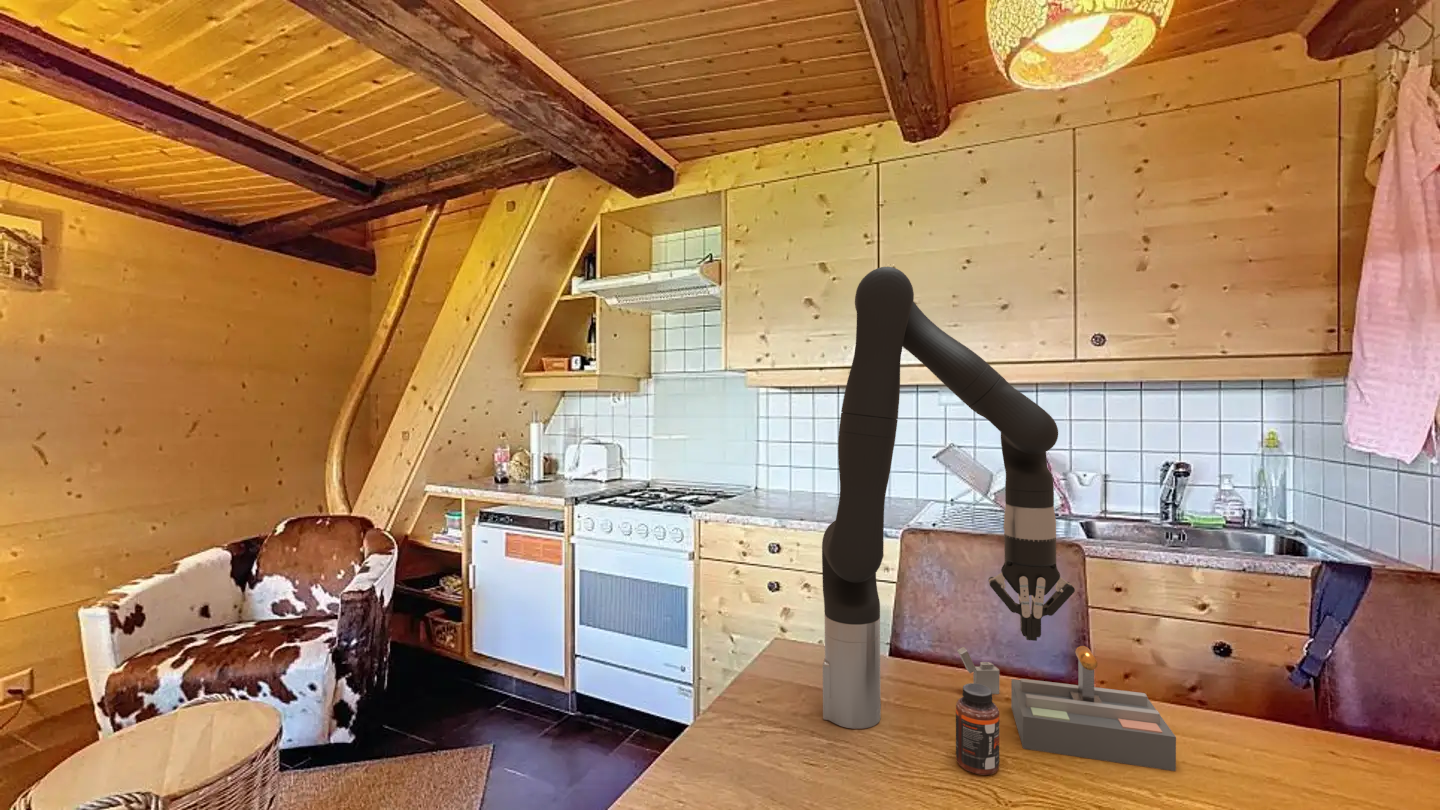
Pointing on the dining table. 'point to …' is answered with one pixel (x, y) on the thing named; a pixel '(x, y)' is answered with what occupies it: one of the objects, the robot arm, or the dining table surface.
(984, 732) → the supplement bottle
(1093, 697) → the breaker handle
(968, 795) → the dining table surface
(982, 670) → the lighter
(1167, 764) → the switch box
